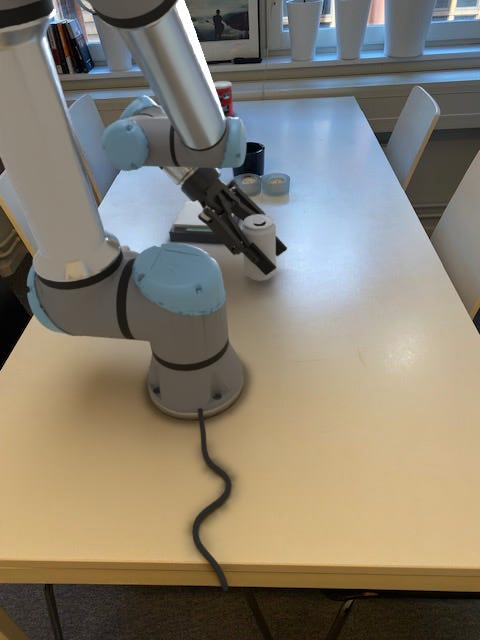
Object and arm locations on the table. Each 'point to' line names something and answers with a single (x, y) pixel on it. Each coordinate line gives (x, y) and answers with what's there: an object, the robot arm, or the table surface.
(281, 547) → the table surface
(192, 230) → the scale
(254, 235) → the beverage can
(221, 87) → the canned food
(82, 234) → the robot arm
